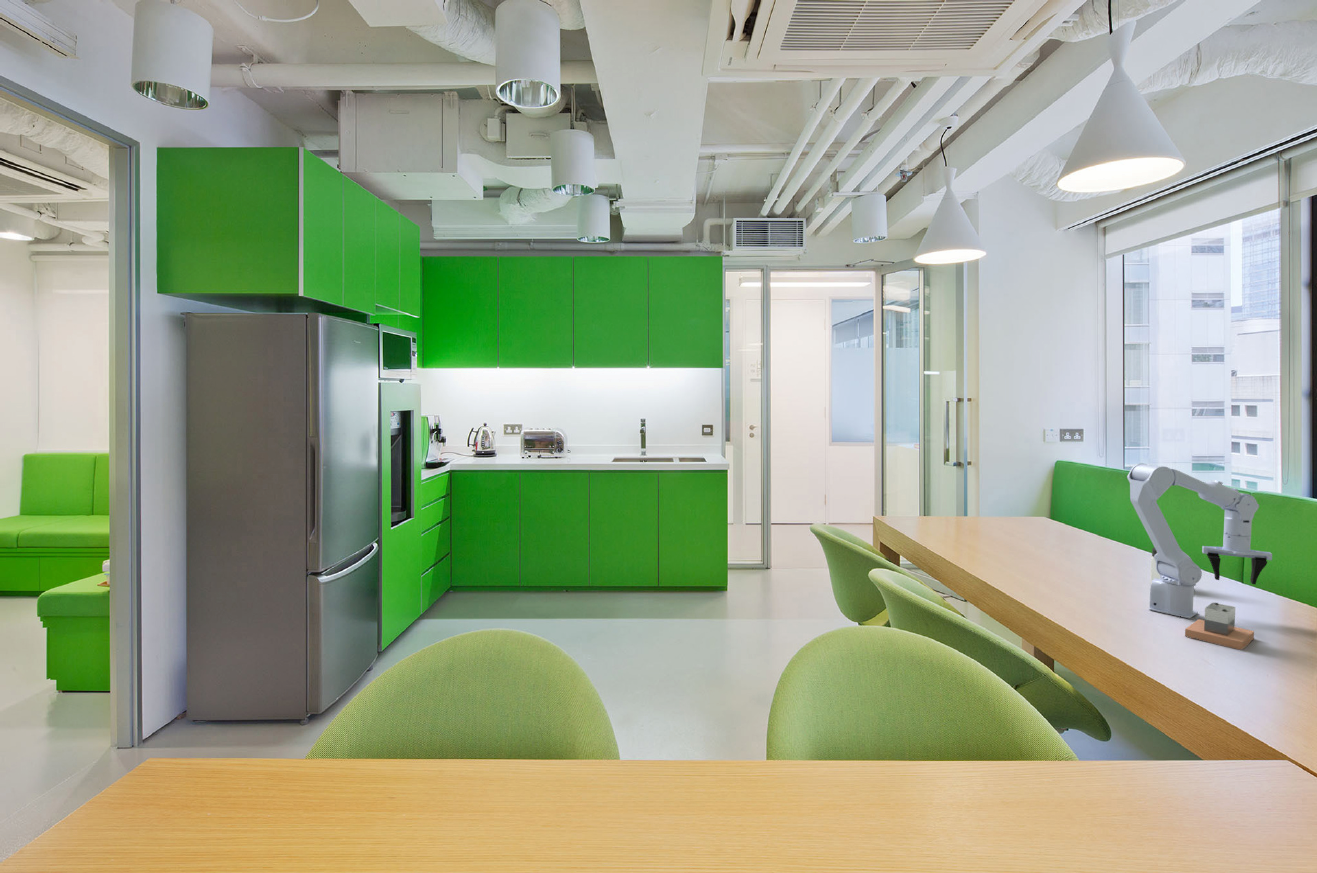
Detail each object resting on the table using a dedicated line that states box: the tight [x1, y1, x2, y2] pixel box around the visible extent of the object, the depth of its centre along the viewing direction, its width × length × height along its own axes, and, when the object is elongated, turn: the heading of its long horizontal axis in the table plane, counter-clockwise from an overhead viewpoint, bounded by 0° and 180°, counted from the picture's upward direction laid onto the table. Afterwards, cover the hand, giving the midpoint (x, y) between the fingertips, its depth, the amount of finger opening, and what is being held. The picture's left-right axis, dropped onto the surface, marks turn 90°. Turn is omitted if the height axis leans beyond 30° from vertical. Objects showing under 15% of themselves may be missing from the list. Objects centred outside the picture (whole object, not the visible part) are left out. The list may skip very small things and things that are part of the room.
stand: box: [1184, 618, 1255, 651], centre depth 160 cm, size 11×12×2 cm
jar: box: [1149, 547, 1161, 585], centre depth 204 cm, size 9×8×12 cm
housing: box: [1204, 602, 1236, 636], centre depth 160 cm, size 7×4×6 cm, turn 126°
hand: (1234, 581), depth 178 cm, fingers open, 7 cm apart
